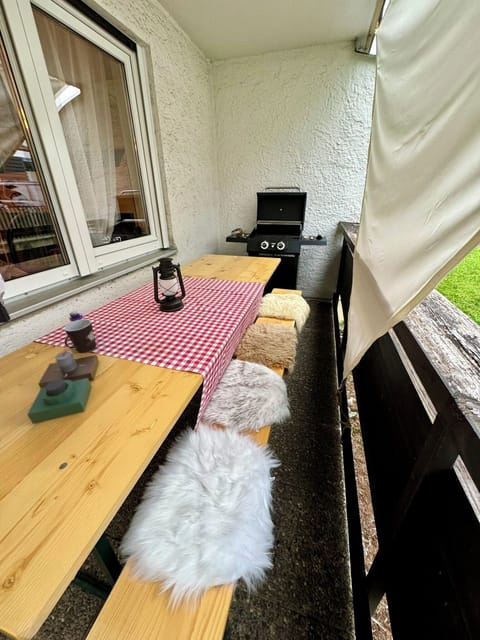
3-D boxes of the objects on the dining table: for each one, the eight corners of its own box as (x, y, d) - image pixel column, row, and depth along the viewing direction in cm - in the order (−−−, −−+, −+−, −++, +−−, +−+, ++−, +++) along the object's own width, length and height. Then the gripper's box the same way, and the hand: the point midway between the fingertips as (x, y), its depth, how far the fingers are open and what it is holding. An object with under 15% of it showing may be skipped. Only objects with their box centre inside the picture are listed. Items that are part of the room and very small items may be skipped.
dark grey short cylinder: (45, 398, 67) (42, 392, 66) (51, 386, 71) (48, 381, 70) (64, 393, 68) (61, 388, 67) (69, 383, 72) (66, 377, 71)
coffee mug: (91, 339, 101) (82, 317, 97) (104, 345, 97) (96, 322, 93) (60, 355, 93) (49, 331, 88) (74, 362, 89) (63, 337, 84)
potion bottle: (67, 344, 99) (55, 316, 94) (85, 332, 106) (74, 306, 101) (84, 347, 97) (73, 319, 91) (101, 335, 104) (92, 308, 98)
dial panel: (42, 391, 77) (37, 383, 75) (53, 371, 85) (49, 363, 84) (93, 380, 80) (90, 372, 78) (99, 361, 88) (96, 354, 87)
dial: (75, 370, 80) (69, 356, 77) (59, 374, 79) (52, 360, 76) (78, 362, 83) (72, 348, 81) (63, 365, 82) (57, 351, 80)
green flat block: (33, 424, 66) (23, 408, 63) (46, 396, 74) (38, 382, 72) (84, 411, 69) (77, 396, 66) (91, 386, 77) (85, 372, 75)
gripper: (-33, 247, 66) (0, 312, 74) (-79, 262, 53) (-32, 338, 61) (1, 244, 67) (30, 308, 76) (-35, 258, 54) (5, 333, 63)
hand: (2, 321), depth 69 cm, fingers closed
